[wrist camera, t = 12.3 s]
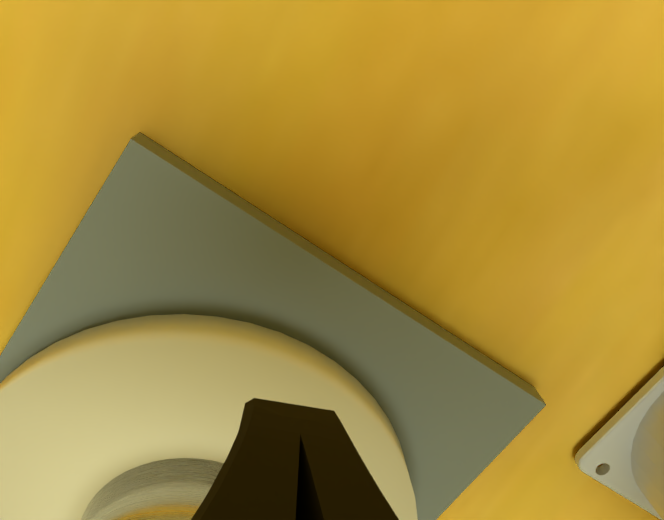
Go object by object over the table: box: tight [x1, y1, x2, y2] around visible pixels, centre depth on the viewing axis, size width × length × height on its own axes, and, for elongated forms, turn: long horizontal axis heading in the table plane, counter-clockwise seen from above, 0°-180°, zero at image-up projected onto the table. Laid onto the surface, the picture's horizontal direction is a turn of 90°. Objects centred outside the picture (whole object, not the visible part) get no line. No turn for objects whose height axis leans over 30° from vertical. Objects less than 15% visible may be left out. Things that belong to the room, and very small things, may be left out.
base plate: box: [0, 132, 546, 520], centre depth 20 cm, size 15×19×1 cm
